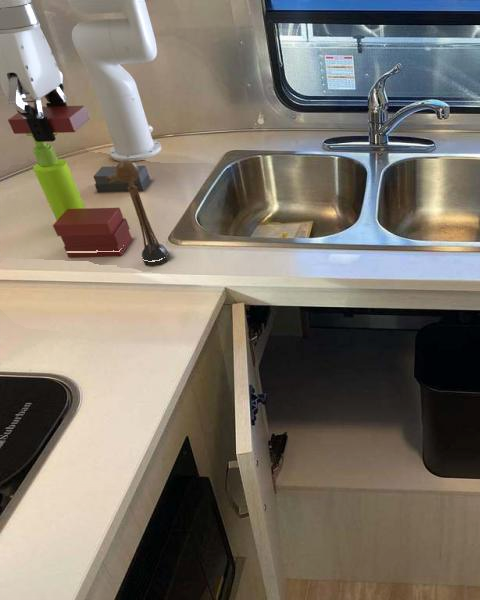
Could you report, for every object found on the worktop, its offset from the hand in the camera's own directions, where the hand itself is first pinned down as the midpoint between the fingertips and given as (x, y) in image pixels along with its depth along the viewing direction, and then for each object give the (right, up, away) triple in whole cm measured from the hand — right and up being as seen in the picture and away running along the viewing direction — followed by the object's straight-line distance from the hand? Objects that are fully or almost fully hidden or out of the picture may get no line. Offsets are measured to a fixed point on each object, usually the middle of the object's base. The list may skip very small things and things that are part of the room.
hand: (55, 132), depth 95 cm
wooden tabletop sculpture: (+13, -22, +10) cm, 27 cm away
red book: (0, +1, -1) cm, 1 cm away
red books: (0, -19, +14) cm, 23 cm away
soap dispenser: (-9, -13, +22) cm, 27 cm away
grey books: (-6, -2, +35) cm, 35 cm away
